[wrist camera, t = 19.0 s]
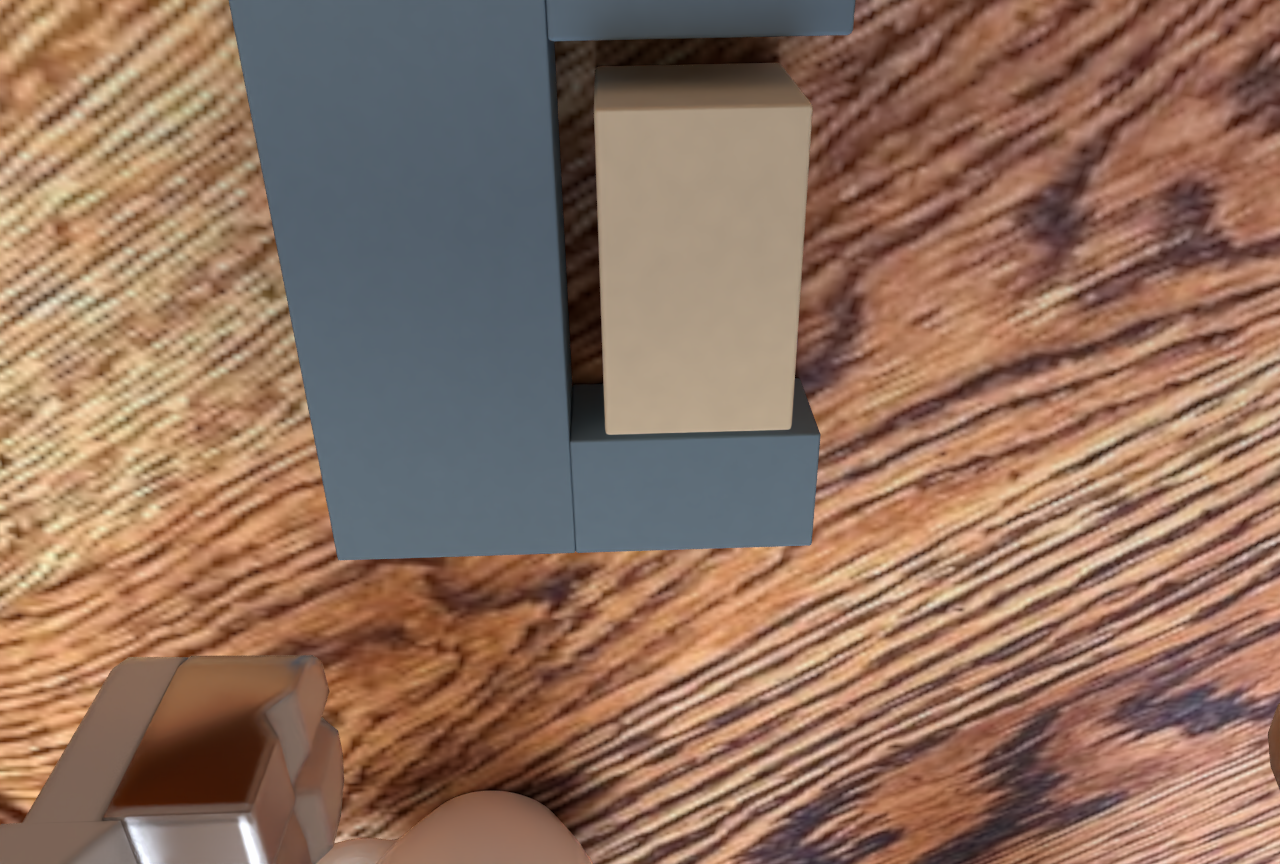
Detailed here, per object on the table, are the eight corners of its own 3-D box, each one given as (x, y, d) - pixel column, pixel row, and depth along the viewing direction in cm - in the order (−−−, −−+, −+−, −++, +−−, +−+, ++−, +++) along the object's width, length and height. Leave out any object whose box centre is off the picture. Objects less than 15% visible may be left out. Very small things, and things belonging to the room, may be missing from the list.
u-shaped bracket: (248, -149, 18) (199, -146, 16) (836, -159, 18) (870, -158, 16) (360, 495, 24) (337, 561, 22) (793, 482, 24) (812, 546, 22)
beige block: (594, 65, 20) (593, 108, 17) (780, 62, 20) (814, 103, 17) (604, 355, 23) (605, 436, 20) (766, 351, 23) (791, 431, 20)
